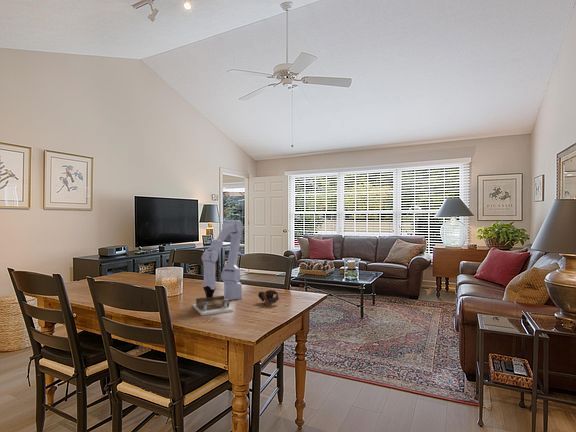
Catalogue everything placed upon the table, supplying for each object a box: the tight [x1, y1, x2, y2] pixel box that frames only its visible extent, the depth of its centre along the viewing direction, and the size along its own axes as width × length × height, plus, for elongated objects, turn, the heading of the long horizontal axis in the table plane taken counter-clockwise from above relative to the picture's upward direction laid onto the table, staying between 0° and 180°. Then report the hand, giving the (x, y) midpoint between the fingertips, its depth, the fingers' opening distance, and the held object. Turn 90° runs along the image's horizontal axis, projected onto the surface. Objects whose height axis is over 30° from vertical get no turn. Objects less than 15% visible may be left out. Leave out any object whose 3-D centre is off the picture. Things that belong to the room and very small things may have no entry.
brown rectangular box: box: [195, 295, 230, 310], centre depth 168 cm, size 14×9×4 cm, turn 119°
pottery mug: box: [257, 289, 280, 307], centre depth 179 cm, size 12×10×8 cm
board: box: [192, 299, 234, 316], centre depth 168 cm, size 15×18×5 cm
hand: (209, 300), depth 173 cm, fingers closed
